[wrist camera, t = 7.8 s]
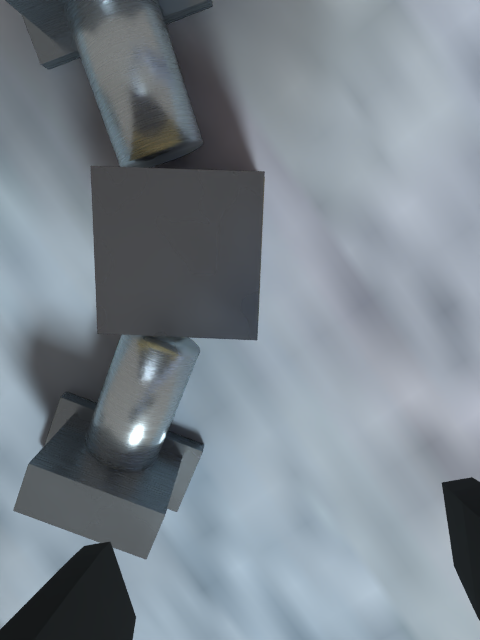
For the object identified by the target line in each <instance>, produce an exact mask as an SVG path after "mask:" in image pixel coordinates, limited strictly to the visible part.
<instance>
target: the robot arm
mask: <svg viewBox="0 0 480 640" xmlns="http://www.w3.org/2000/svg"><path fill="white" fill-rule="evenodd" d="M442 487H443V494H444V501H445V508H446V515H447V521H448V528H449V535H450V542H451V549H452V555H453V562H454V567H455V569H456V571H457V574H458V576H459V578H460V580H461V582H462V585H463V587H464V589H465V591H466V593H467V596H468V598H469V600H470V602H471V604H472V606H473V608H474V610H475V612H476V615H477V617H478V619H479V620H480V482H479V481H477V480H476V479H474V478H472V477H471V478H466V479H460V480H454V481H449V482H443V483H442ZM135 620H136V616H135V613H134V610H133V607H132V604H131V601H130V598H129V595H128V592H127V589H126V586H125V583H124V580H123V577H122V574H121V571H120V568H119V565H118V562H117V559H116V557H115V554H114V551H113V548H112V545H111V542H104V543H99V544H93V545H87V546H84V547H83V548H82V549H81V550H79V551H78V552H77V553H76V554H75V555H74V556H73V557H72V558H71V559H70V560H69V561H68V562H67V563H66V564H65V565H64V566H63V567H62V568H61V569H60V570H59V571H58V572H57V573H56V574H55V575H54V576H53V577H52V578H51V579H50V580H49V581H48V582H47V583H46V584H45V585H44V586H43V587H42V588H41V589H40V590H39V591H38V592H37V593H36V594H35V595H34V596H33V597H32V598H31V599H30V600H29V601H28V602H27V603H26V604H25V605H24V606H23V607H22V608H21V609H20V610H19V611H18V612H17V613H16V614H15V615H14V616H13V617H12V618H11V619H10V620H9V621H8V622H7V623H6V624H5V625H4V626H3V627H2V628H1V629H0V640H132V639H133V633H134V627H135Z"/></svg>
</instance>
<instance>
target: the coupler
mask: <svg viewBox="0 0 480 640" xmlns="http://www.w3.org/2000/svg"><path fill="white" fill-rule="evenodd" d="M264 173H265V172H262V171H231V170H200V169H169V168H138V167H107V166H91V184H92V209H93V234H94V258H95V283H96V307H97V332H98V334H118V335H142V336H167V337H192V338H216V339H241V340H257V333H258V316H259V293H260V270H261V248H262V225H263V202H264V179H265V177H264Z"/></svg>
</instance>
